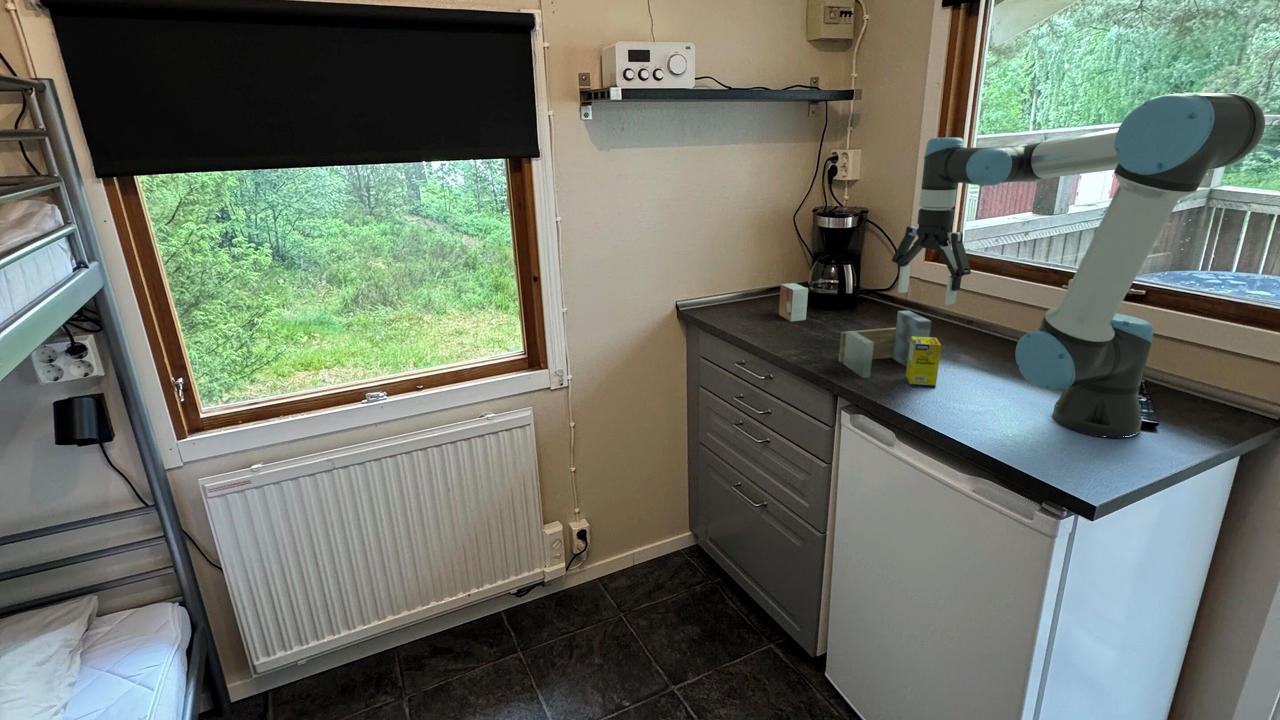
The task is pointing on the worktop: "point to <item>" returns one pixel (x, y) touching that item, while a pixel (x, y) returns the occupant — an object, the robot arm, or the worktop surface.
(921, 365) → the supplement box
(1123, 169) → the robot arm
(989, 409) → the worktop surface
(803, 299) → the small box
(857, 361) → the bookend
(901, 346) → the rack
